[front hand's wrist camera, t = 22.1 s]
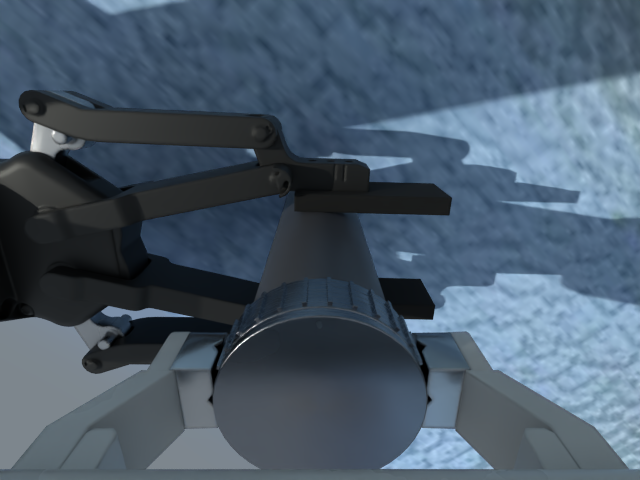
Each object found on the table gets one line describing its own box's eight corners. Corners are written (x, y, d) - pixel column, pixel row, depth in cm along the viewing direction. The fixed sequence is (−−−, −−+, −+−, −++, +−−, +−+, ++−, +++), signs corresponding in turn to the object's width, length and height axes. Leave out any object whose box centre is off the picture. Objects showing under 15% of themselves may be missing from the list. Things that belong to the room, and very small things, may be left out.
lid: (259, 442, 11) (249, 500, 10) (198, 300, 10) (173, 342, 8) (426, 409, 11) (444, 465, 9) (395, 254, 9) (412, 289, 8)
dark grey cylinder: (361, 227, 25) (425, 423, 10) (299, 247, 25) (272, 463, 10) (341, 164, 23) (379, 284, 8) (275, 187, 24) (203, 338, 9)
